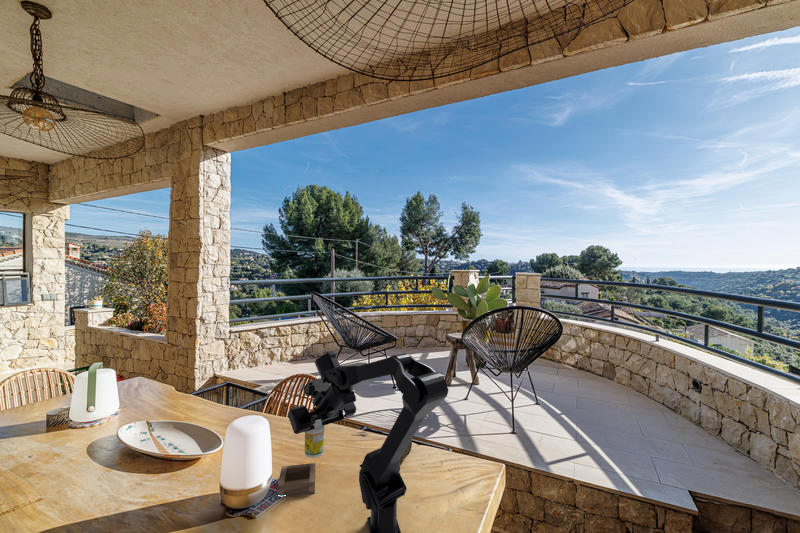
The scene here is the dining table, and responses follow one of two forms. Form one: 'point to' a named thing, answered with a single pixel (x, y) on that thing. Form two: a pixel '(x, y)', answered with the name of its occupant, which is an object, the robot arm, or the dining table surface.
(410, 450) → the hand tool
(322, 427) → the supplement bottle
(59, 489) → the dining table surface
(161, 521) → the dining table surface
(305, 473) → the socket block
